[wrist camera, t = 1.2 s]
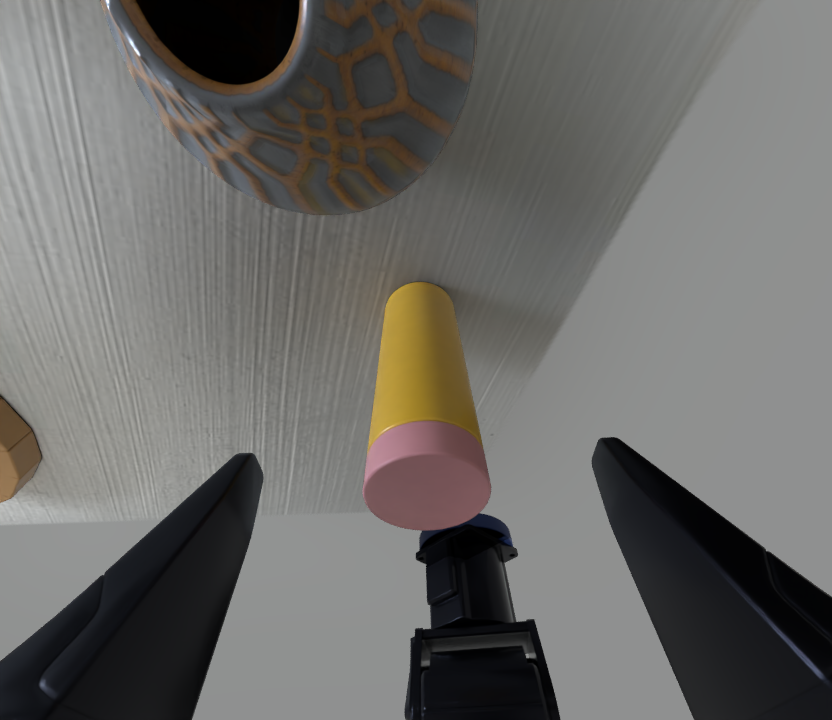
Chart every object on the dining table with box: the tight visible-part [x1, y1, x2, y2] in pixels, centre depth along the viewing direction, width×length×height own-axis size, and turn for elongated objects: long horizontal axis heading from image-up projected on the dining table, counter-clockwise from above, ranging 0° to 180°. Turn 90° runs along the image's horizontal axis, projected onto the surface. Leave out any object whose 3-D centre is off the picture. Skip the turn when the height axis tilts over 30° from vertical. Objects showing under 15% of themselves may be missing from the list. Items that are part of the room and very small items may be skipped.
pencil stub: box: [363, 282, 491, 530], centre depth 12 cm, size 3×3×9 cm
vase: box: [100, 0, 478, 215], centre depth 7 cm, size 7×7×9 cm
